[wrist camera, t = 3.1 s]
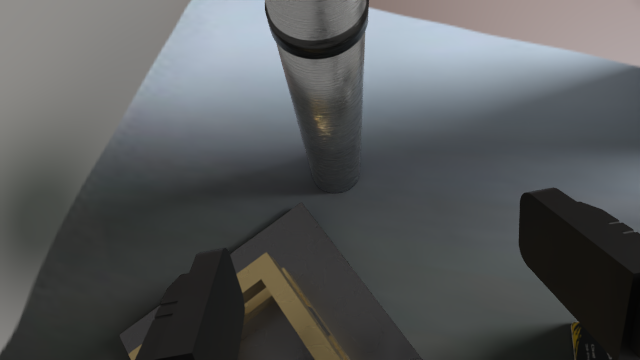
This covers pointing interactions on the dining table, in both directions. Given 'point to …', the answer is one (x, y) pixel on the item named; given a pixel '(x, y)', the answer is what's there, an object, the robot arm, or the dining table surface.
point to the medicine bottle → (586, 345)
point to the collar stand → (302, 301)
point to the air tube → (324, 81)
